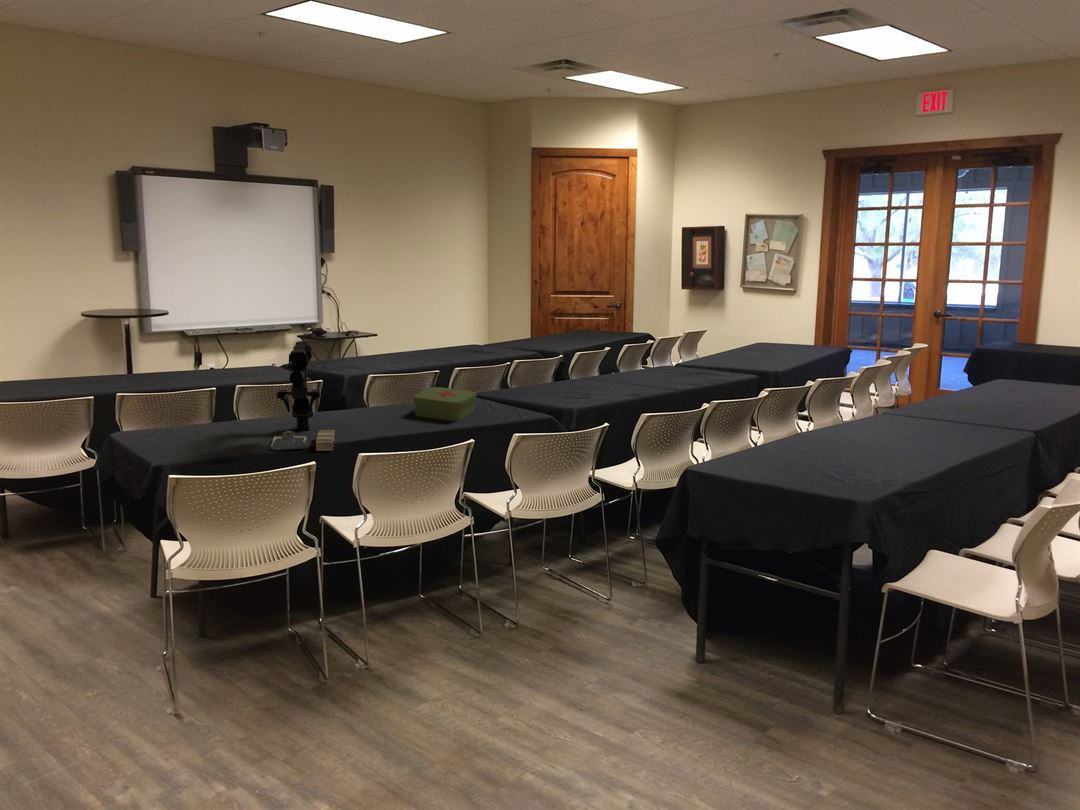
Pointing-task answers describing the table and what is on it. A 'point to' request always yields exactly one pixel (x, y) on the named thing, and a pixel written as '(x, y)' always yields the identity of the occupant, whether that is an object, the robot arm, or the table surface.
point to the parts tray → (281, 438)
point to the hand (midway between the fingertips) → (299, 412)
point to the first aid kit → (444, 403)
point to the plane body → (325, 440)
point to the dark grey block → (288, 437)
